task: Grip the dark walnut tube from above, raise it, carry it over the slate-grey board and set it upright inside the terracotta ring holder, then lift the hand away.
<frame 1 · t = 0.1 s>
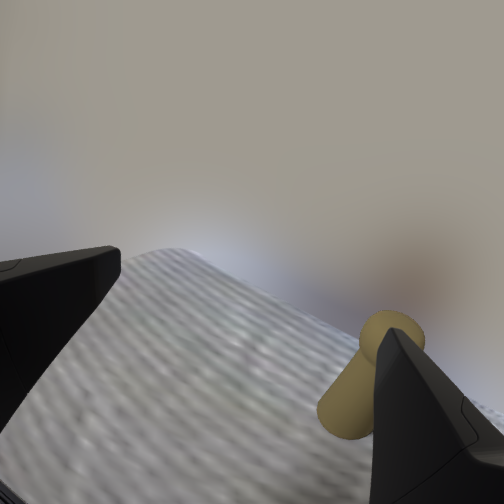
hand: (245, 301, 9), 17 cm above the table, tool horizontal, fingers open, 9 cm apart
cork: (346, 414, 24), on the table
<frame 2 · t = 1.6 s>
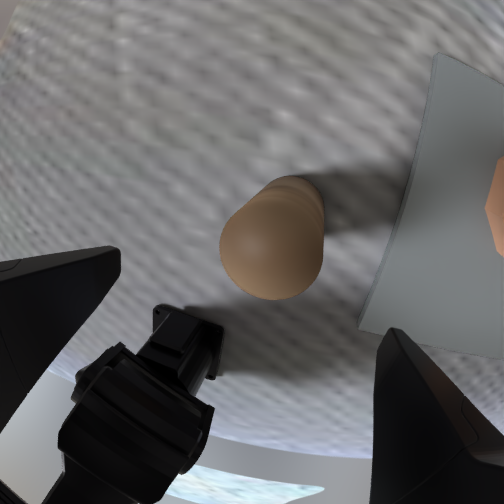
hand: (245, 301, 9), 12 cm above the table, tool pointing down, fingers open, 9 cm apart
slate board: (494, 230, 17), on the table
walnut tube: (290, 208, 20), on the table
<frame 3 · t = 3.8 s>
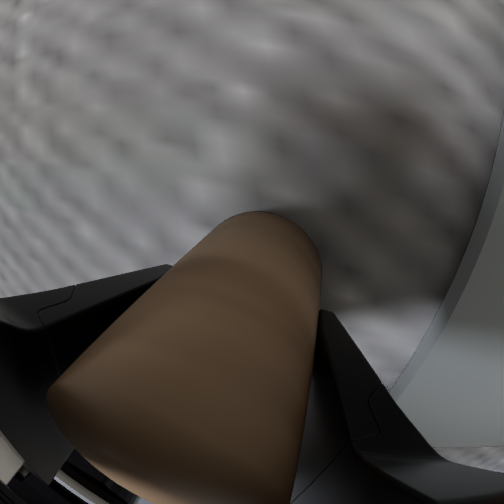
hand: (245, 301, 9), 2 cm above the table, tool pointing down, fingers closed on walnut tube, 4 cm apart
walnut tube: (259, 271, 11), on the table, touching gripper
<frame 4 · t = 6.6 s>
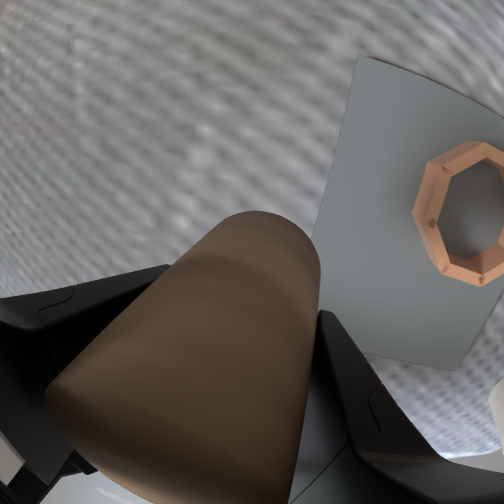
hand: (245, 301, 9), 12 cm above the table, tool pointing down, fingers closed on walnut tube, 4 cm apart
terracotta ring: (465, 205, 17), resting on slate board
slate board: (428, 236, 19), on the table
walnut tube: (258, 271, 11), point 10 cm above the table, touching gripper
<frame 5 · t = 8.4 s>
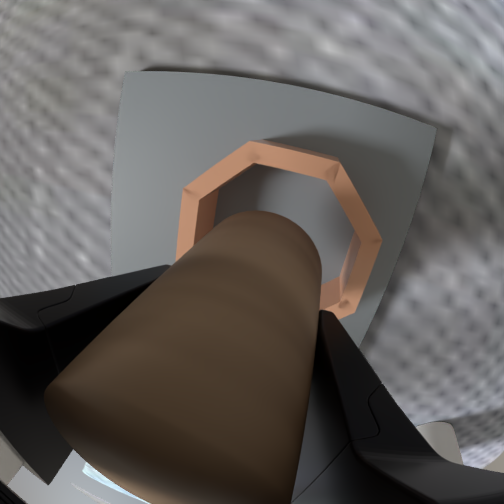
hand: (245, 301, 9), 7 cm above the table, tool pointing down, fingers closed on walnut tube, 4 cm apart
terracotta ring: (283, 226, 16), resting on slate board
slate board: (236, 267, 17), on the table
walnut tube: (259, 271, 11), point 5 cm above the table, touching gripper
white cup: (423, 438, 20), on the table
when the fingers open (4 cm above the table, at t = 9.7 s): walnut tube drops 1 cm, resting on slate board.
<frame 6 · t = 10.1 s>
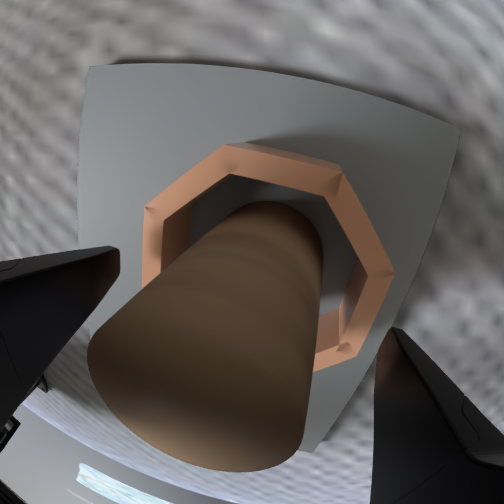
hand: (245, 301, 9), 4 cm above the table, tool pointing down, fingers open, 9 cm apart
terracotta ring: (272, 247, 13), resting on slate board
slate board: (219, 292, 15), on the table
walnut tube: (267, 255, 12), point 1 cm above the table, touching slate board
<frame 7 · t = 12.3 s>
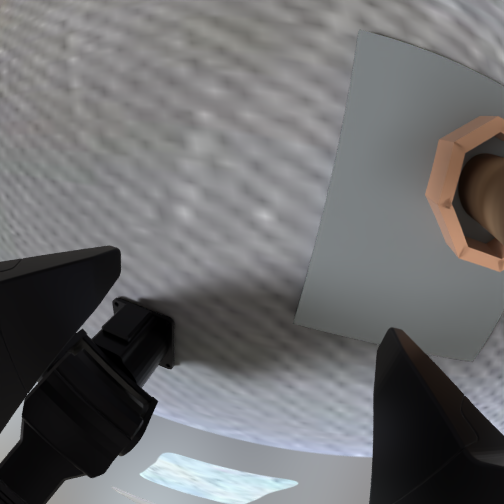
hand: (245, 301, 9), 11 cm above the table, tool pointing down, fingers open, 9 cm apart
terracotta ring: (480, 185, 15), resting on slate board
slate board: (443, 219, 17), on the table
walnut tube: (486, 188, 14), point 1 cm above the table, touching slate board
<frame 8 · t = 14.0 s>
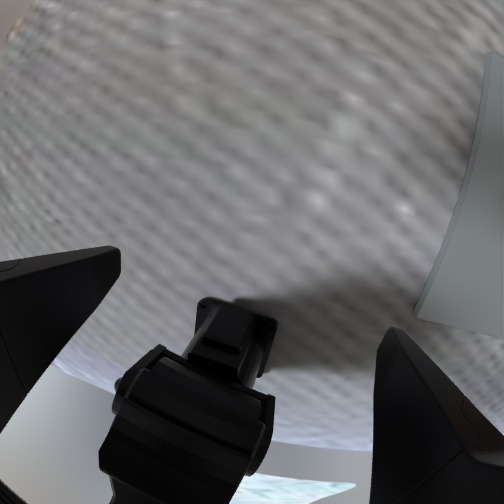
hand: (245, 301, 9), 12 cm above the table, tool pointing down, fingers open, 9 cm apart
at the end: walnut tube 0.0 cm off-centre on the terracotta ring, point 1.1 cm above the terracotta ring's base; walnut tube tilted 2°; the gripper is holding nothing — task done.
